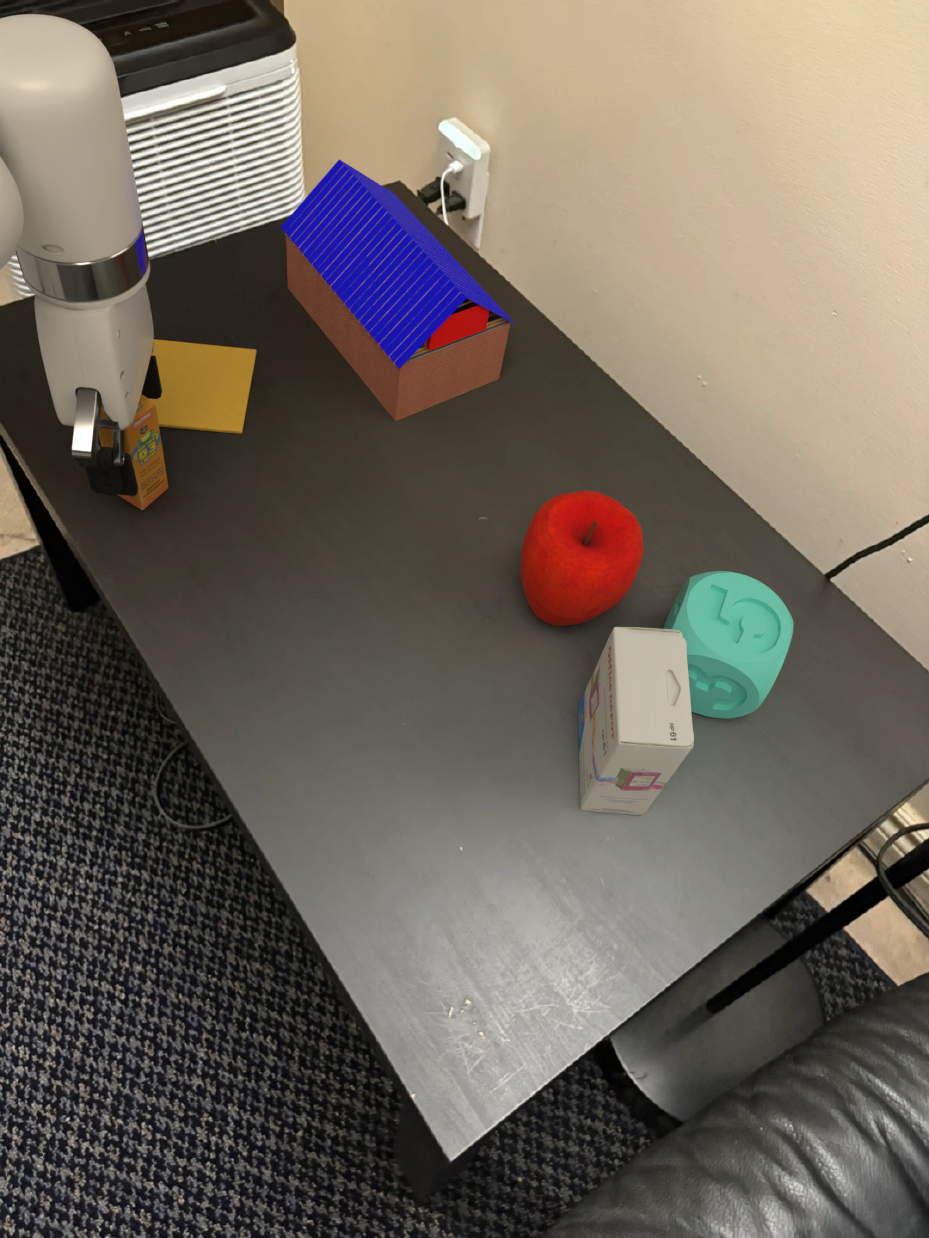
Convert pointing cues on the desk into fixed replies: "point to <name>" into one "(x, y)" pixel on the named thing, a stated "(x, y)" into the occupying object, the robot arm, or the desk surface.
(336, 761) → the desk surface
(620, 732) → the ink box
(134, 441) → the supplement box
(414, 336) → the house
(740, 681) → the decorative dice
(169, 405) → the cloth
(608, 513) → the apple
